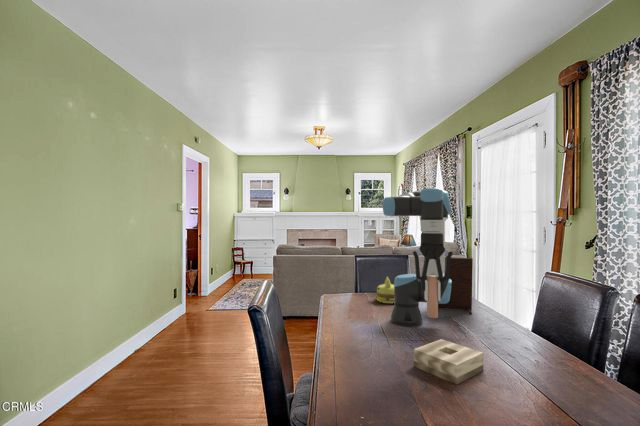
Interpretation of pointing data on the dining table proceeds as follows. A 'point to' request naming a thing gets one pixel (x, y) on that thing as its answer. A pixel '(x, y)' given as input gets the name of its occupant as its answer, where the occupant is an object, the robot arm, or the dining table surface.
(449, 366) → the bore block
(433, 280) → the pin
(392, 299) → the toy
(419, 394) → the dining table surface
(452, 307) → the dark brown wooden cabinet
